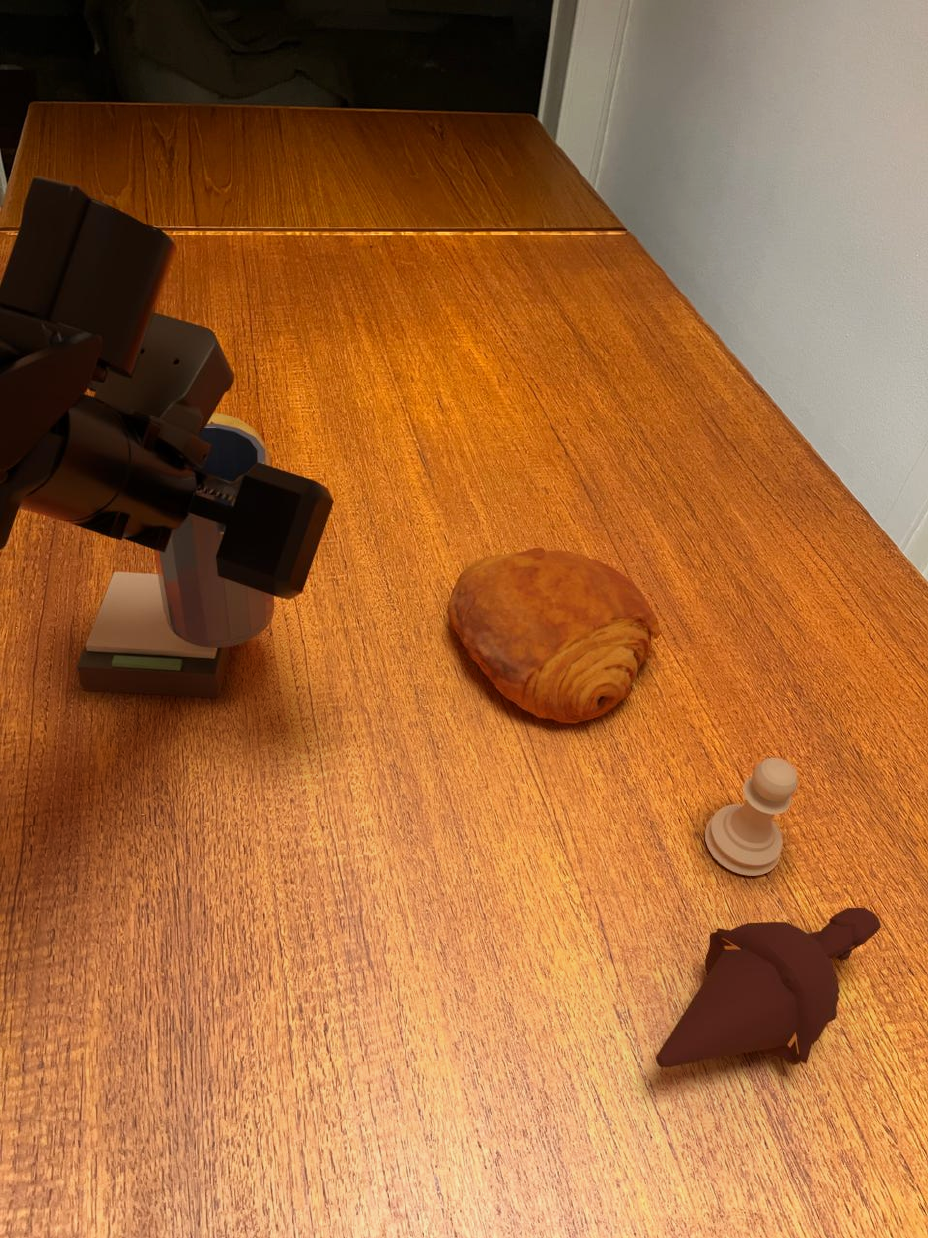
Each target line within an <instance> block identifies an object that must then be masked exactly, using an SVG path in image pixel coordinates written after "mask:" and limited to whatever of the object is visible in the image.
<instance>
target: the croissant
mask: <svg viewBox="0 0 928 1238" xmlns="http://www.w3.org/2000/svg"><path fill="white" fill-rule="evenodd" d="M447 603H448V604H447V608H446V613H447V617H448V621H449V624H450V625H451V627H452V629H454V631H455V632H456V633H457V635H458V637H459V638H460V641H461V643H462V644H463V646H464V647H465V649H466V650H467V651H468V653H469V656H470V659H472V660H473V661H474V662H475V663H477V665H478V666H479V669H480V670H481V671H482V672H483V674H484V675H485V676H486V677H487V678H488V679H489V681H490V682H491V683H493V685H494V688H495V689H496V690H497V691H498V692H499V693H500V694H501V695H502V696H503V697H505V698H506V699H507V700H508V701H511V702H513V703H514V704H515V705H516V706H518V707H519V708H520V709H522V710H524V711H526V712H528V713H531V714H532V715H534V716H536V718H540V719H549V720H554V721H556V722H558V723H565V724H577V723H579V722H584V721H589V720H593V719H596V718H599V717H602V716H603V715H605V714H607V712H608V711H610V710H611V709H613V708H615V707H616V706H617V705H618V704H619V703H620V702H621V701H622V700H623V699H626V698H627V697H629V695H630V692H631V689H630V688H631V685H632V684H633V682H634V680H635V679H636V677H637V676H638V671H639V670H640V667H641V665H642V664H643V663H644V662H646V661H647V658H649V657H652V654H651V650H652V649H653V648H652V638H653V639H654V640H657V639H658V638H659V637H660V636H661V629H660V625H659V622H658V621H659V620H658V618H657V616H656V614H655V612H654V610H653V609H652V607H651V605H650V604H649V601H648V600H647V599H646V598H645V596H644V595H643V593H642V591H641V590H640V589H639V588H638V587H637V585H636V584H635V583H634V582H633V581H632V580H631V579H629V578H628V577H627V576H626V575H624V574H623V573H621V572H620V571H619V570H617V569H616V568H614V567H612V566H611V565H609V564H607V563H605V562H603V561H601V560H598V559H595V558H590V557H588V556H587V555H584V554H580V553H574V552H571V551H568V550H565V551H564V550H546V549H545V547H533V548H531V549H527V550H523V551H520V552H509V553H505V554H497V555H492V556H488V557H484V558H481V559H479V560H476V561H474V562H472V563H470V565H468V567H467V568H466V569H464V570H463V571H462V573H460V574H459V576H458V578H457V582H456V583H455V585H454V587H453V589H452V590H451V594H450V599H449V601H448V602H447Z"/></svg>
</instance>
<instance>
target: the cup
mask: <svg viewBox="0 0 928 1238" xmlns="http://www.w3.org/2000/svg"><path fill="white" fill-rule="evenodd" d="M197 438H199V439H201V440H203V441H205V442H206V443H208V444H210V445H211V448H210V451H209V453H208V456H207V459H206V462H205V465H204V467H203V468H199V467H196V466H195V468H194V469H195V470H198V471H201V472H204V473H207V474H210V475H213V476H216V477H219V478H222V479H225V480H229V481H235V480H236V479H237V478H238V477H239V476H241V475H243V474H246V473H247V472H248V471H249V470H250V469H251V468H252V467H253V466H254V465H255V464H256V463H257V462H259V463H262V464H265V465H266V455H265V449H264V447H263V446H262V445H261V444H260V442H259V441H258V440H257V438H256V437H254V436H252V435H251V434H249V433H247V432H245V431H243V430H241V429H239V428H235V427H231V426H226V425H222V424H207V425H206V426H205V428H204V429H203V430H202V431H201V432H199V434H198V437H197ZM196 495H199V496H202V497H205V498H208V499H211V500H214V501H217V502H220V503H223V504H226V505H229V506H230V503H231V502H230V501H228V498H227V499H226V500H224V499H221V496H220V497H219V498H218V497H215V493H214V494H213V496H212V495H209V494H208V492H207V493H203V492H202V489H201V490H200V491H196ZM235 500H236V498H235ZM222 526H223V524H220V523H217V522H214V521H211V520H208V519H205V518H202V517H199V516H196V515H193V514H190V513H189V515H188V517H187V518H186V519H185V521H184V522H183V523H182V524H181V526H180V527H179V528H177V529H175V530H173V531H172V534H171V537H170V540H169V543H168V546H167V548H166V551H165V553H164V552H160V551H157V550H154V549H152V550H153V555H154V561H155V567H156V574H158V579H159V585H160V591H161V597H162V603H163V609H164V614H165V615H166V620H167V623H168V625H169V627H170V629H171V630H172V631H173V632H174V633H175V634H176V635H177V636H178V637H179V638H181V639H182V640H184V641H186V642H188V643H191V644H194V645H197V646H202V647H209V648H222V647H230V646H231V647H235V646H238V645H241V644H244V643H247V642H249V641H251V640H253V639H255V638H256V637H257V636H260V635H261V634H262V633H263V632H264V631H265V630H266V629H267V628H268V627H269V625H270V624H271V623H272V620H273V618H274V615H275V596H273V595H270V594H267V593H264V592H261V591H259V590H256V589H253V588H250V587H247V586H245V585H242V584H239V583H236V582H233V581H230V580H228V579H225V578H222V577H219V576H218V572H217V563H216V555H217V552H218V549H219V546H220V543H221V541H222V538H223V535H224V534H222V533H220V532H221V529H222Z"/></svg>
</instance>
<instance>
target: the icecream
mask: <svg viewBox="0 0 928 1238" xmlns="http://www.w3.org/2000/svg"><path fill="white" fill-rule="evenodd" d="M881 928H882V927H881V921H880V919H879V917H878V916H877V915H876V914H875V913H874V912H873V911H871V910H869V909H868V908H866V907H847V908H845V909H842V910H841V911H839V912H837V913H836V914H834V915H832V917H831V918H829V921H828V923H827V924H826V925H825V926H824V927H822V928H821V929H820V930H818V931H813V932H809V933H808V932H806V931H804V930H803V929H802V928H800V927H798V926H795V925H794V924H792V923H789V922H787V921H765V922H763V921H761V922H747V923H744V924H741V925H739V926H736V927H734V928H732V929H726V928H721V927H720V928H716V931H715V932H711V933H710V934H709V946H708V950H707V953H706V956H705V959H704V970H705V974H706V978H705V979H704V981H703V982H702V984H701V986H700V987H699V988H698V990H697V992H696V994H695V995H694V997H693V998H692V1000H691V1002H690V1003H689V1005H688V1006H687V1008H686V1009H685V1011H684V1012H683V1014H682V1015H681V1017H680V1019H679V1021H678V1022H677V1024H676V1025H675V1027H674V1028H673V1030H671V1033H670V1034H669V1036H668V1037H667V1038H666V1040H665V1041H664V1043H663V1045H662V1046H661V1048H660V1050H659V1051H658V1053H657V1054H656V1057H655V1061H656V1063H657V1065H658V1066H659V1067H660V1068H662V1069H664V1068H671V1067H672V1068H673V1067H678V1066H682V1065H683V1066H684V1065H687V1064H693V1063H699V1062H703V1061H708V1060H709V1061H710V1060H714V1059H720V1058H726V1057H730V1056H737V1055H742V1054H748V1053H752V1052H760V1053H762V1054H764V1055H766V1056H770V1057H774V1058H778V1059H782V1060H784V1061H785V1062H787V1063H789V1064H791V1065H799V1063H803V1064H807V1062H808V1060H809V1056H810V1053H811V1049H812V1045H814V1044H815V1043H816V1042H817V1041H818V1040H819V1039H820V1037H821V1035H822V1033H824V1030H825V1029H826V1027H827V1025H828V1024H829V1023H831V1022H833V1021H835V1020H836V1019H837V1016H838V1015H837V1014H838V1009H837V1006H838V1004H839V1000H840V997H839V996H840V995H839V994H840V986H839V980H838V979H837V976H836V975H837V974H836V970H835V967H834V962H833V961H832V960H833V959H835V958H836V959H837V960H838V961H840V962H843V961H845V960H847V959H849V958H850V957H851V955H852V952H853V950H854V949H857V948H859V947H860V946H862V945H865V944H866V943H867V942H868V941H869V940H870V939H872V937H873V936H875V935H876V934H877V933H878V931H879V930H880V929H881Z"/></svg>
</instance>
